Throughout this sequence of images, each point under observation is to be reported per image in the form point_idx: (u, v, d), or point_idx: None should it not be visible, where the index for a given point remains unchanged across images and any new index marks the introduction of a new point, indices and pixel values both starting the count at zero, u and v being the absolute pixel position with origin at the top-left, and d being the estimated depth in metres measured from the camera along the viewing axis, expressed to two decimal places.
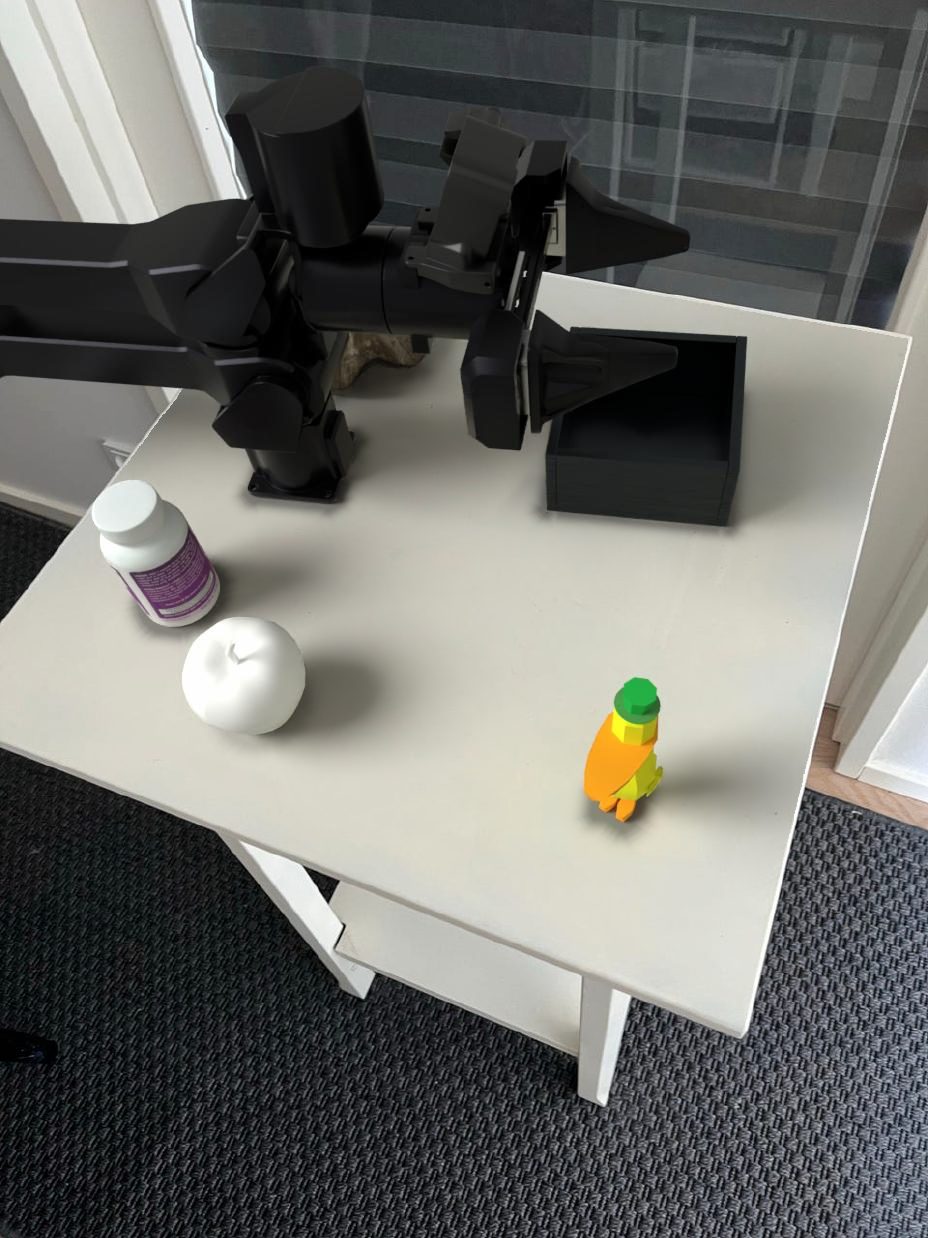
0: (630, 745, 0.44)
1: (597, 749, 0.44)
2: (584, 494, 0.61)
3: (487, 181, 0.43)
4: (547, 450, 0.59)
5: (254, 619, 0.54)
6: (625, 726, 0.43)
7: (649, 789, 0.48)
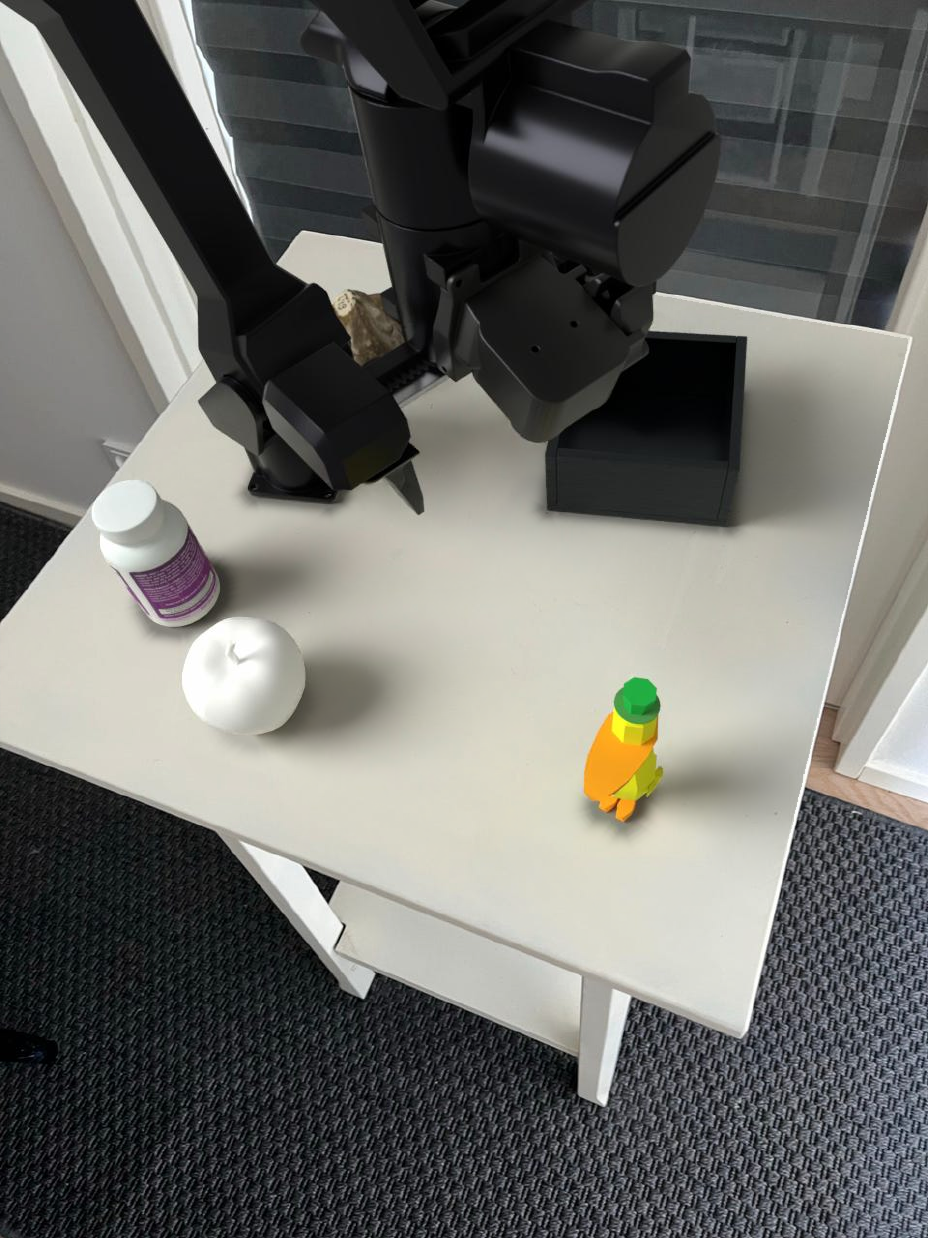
0: (630, 745, 0.44)
1: (597, 749, 0.44)
2: (584, 494, 0.61)
3: (538, 427, 0.37)
4: (547, 450, 0.59)
5: (254, 619, 0.54)
6: (625, 726, 0.43)
7: (649, 789, 0.48)
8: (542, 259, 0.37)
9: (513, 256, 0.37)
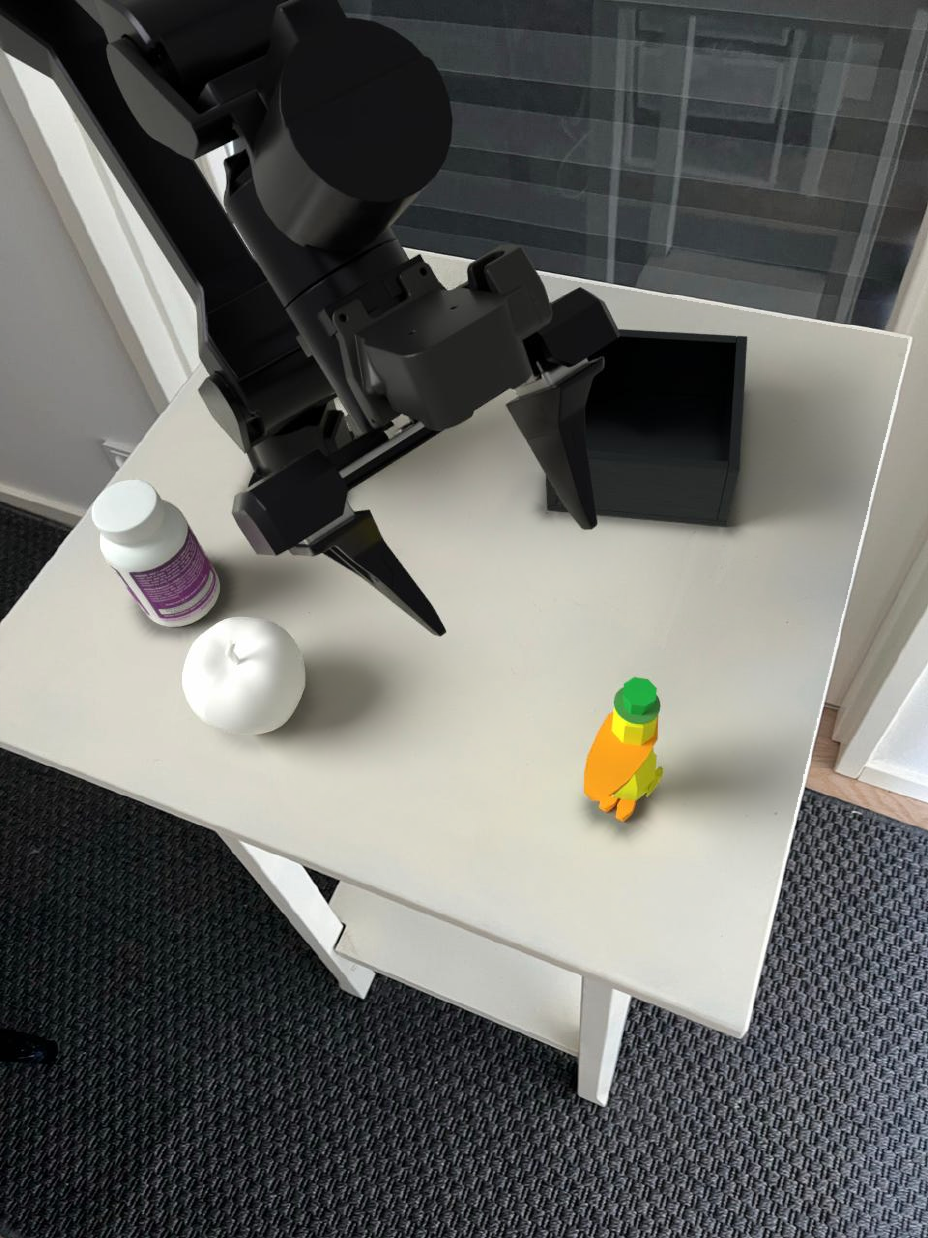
0: (630, 745, 0.44)
1: (597, 749, 0.44)
2: None
3: (433, 399, 0.34)
4: None
5: (254, 619, 0.54)
6: (625, 726, 0.43)
7: (649, 789, 0.48)
8: (433, 290, 0.38)
9: None
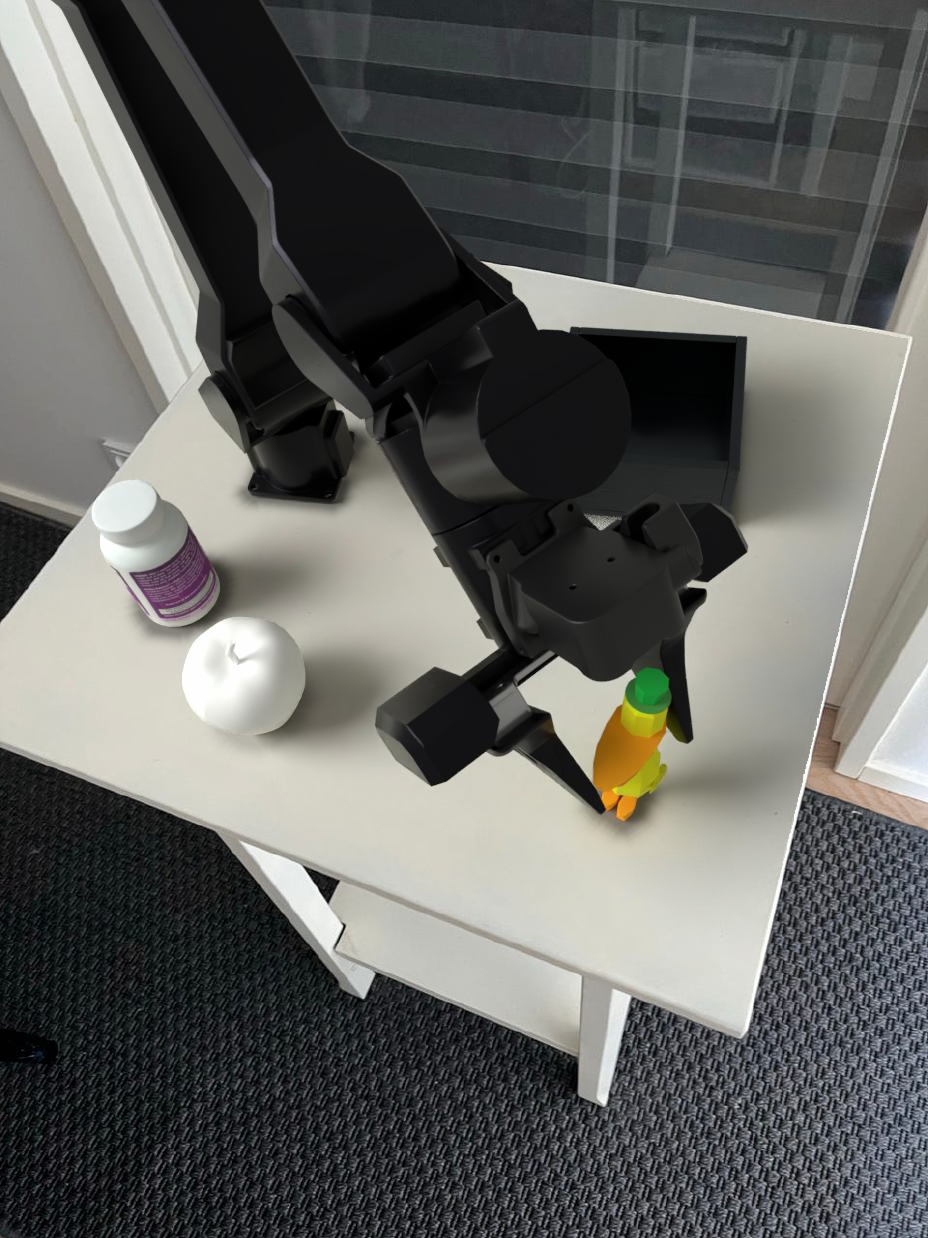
0: (639, 737, 0.44)
1: (606, 740, 0.44)
2: None
3: (597, 658, 0.35)
4: None
5: (254, 619, 0.54)
6: (636, 716, 0.43)
7: (652, 786, 0.48)
8: (580, 526, 0.39)
9: (554, 533, 0.40)
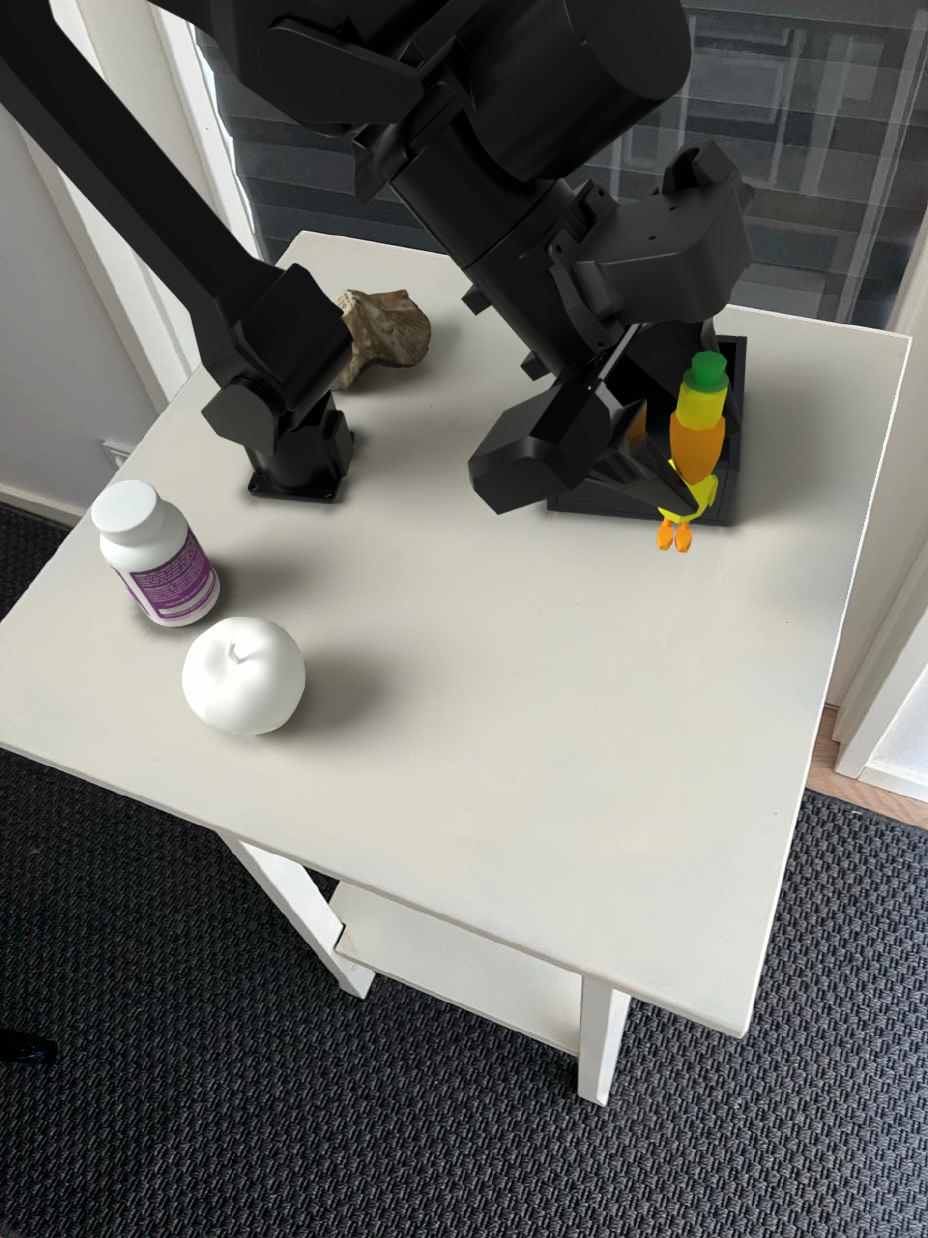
0: (704, 430, 0.45)
1: (677, 442, 0.45)
2: (584, 494, 0.61)
3: (703, 289, 0.36)
4: None
5: (254, 619, 0.54)
6: (703, 401, 0.44)
7: (711, 497, 0.49)
8: (616, 207, 0.39)
9: (593, 223, 0.40)
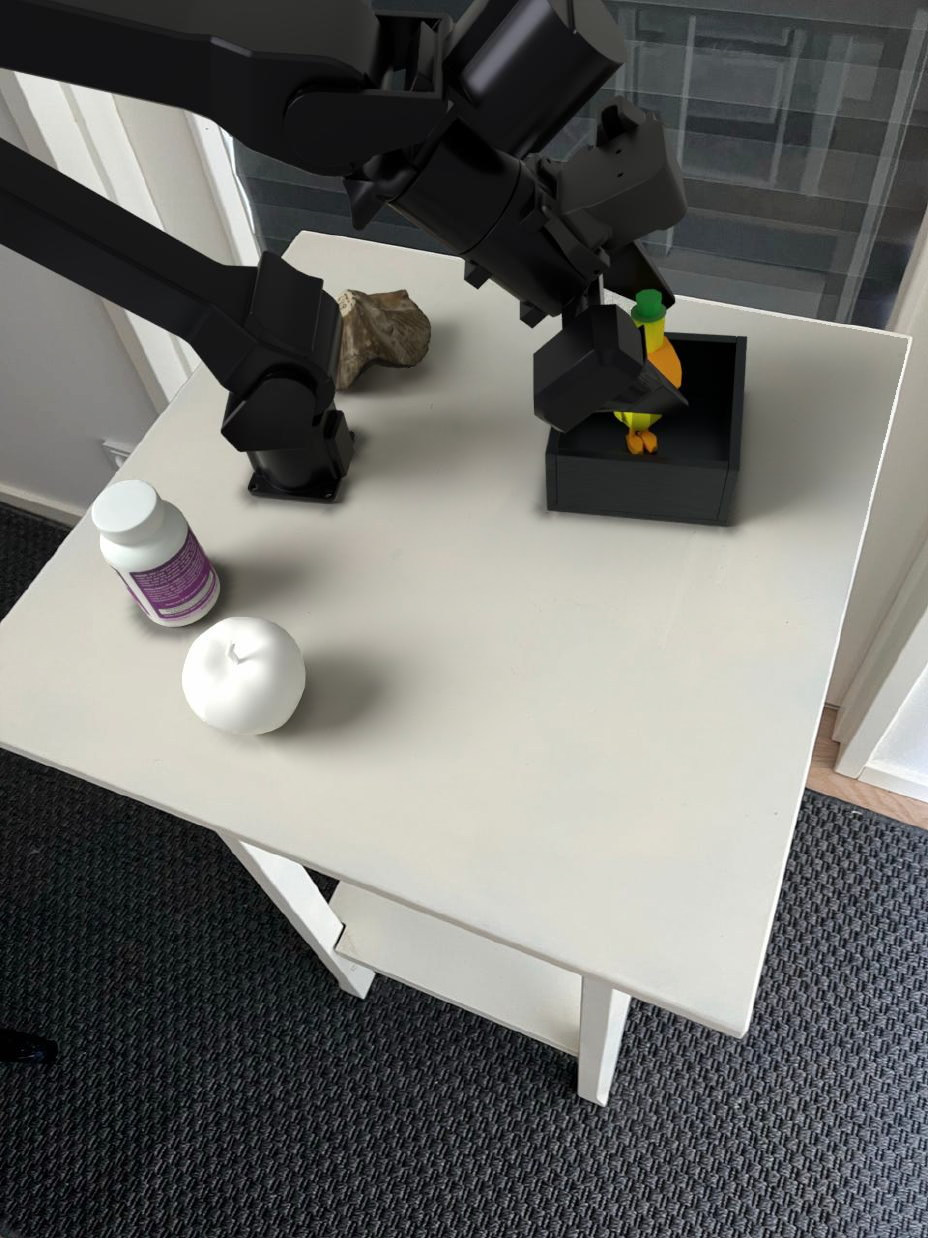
0: (657, 350, 0.57)
1: None
2: (584, 494, 0.61)
3: (674, 198, 0.46)
4: (547, 450, 0.59)
5: (254, 619, 0.54)
6: (655, 328, 0.56)
7: None
8: (564, 168, 0.49)
9: (551, 185, 0.49)
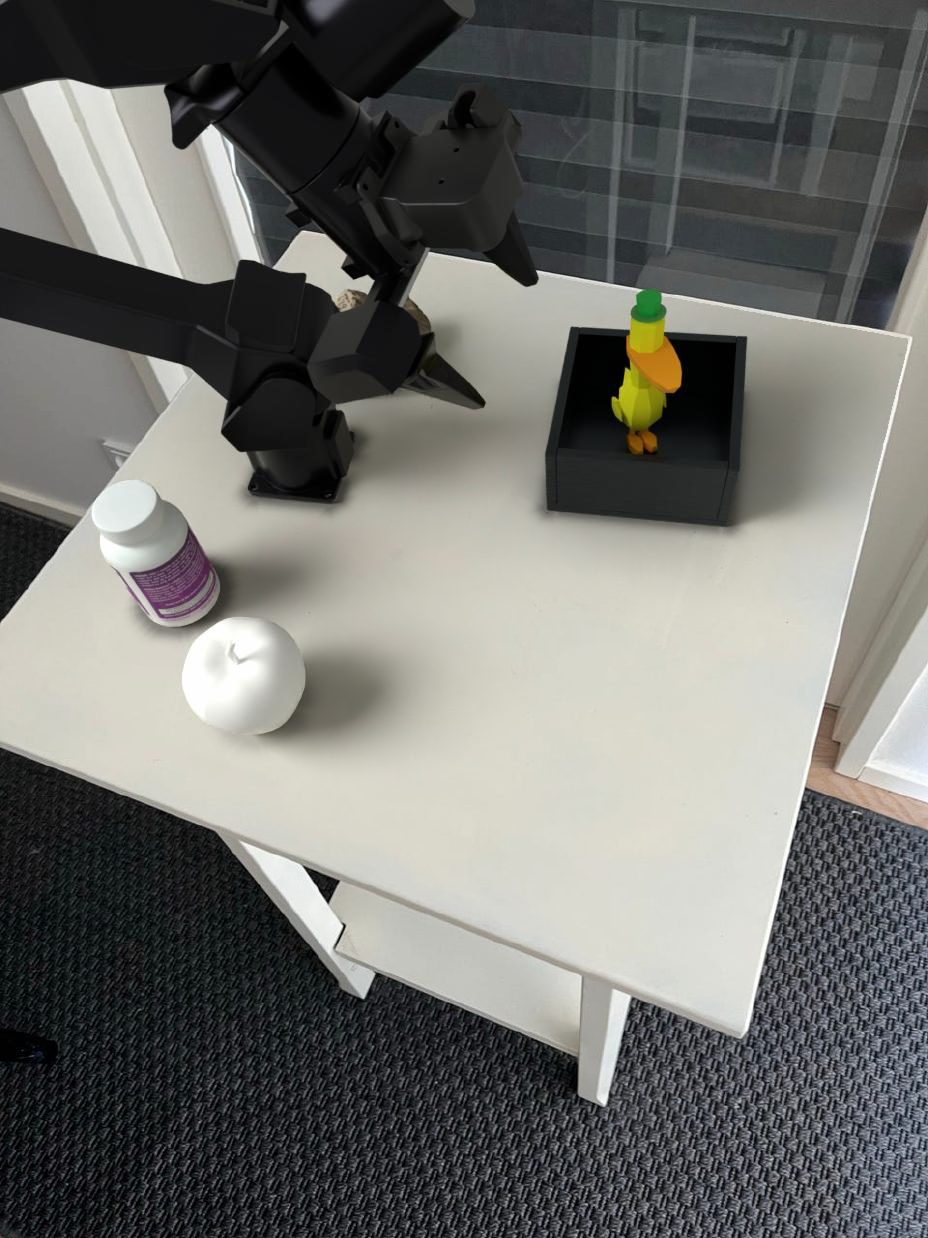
0: (657, 350, 0.57)
1: (645, 366, 0.57)
2: (584, 494, 0.61)
3: (484, 229, 0.45)
4: (547, 450, 0.59)
5: (254, 619, 0.54)
6: (655, 328, 0.56)
7: (664, 400, 0.62)
8: (411, 138, 0.46)
9: (392, 152, 0.47)
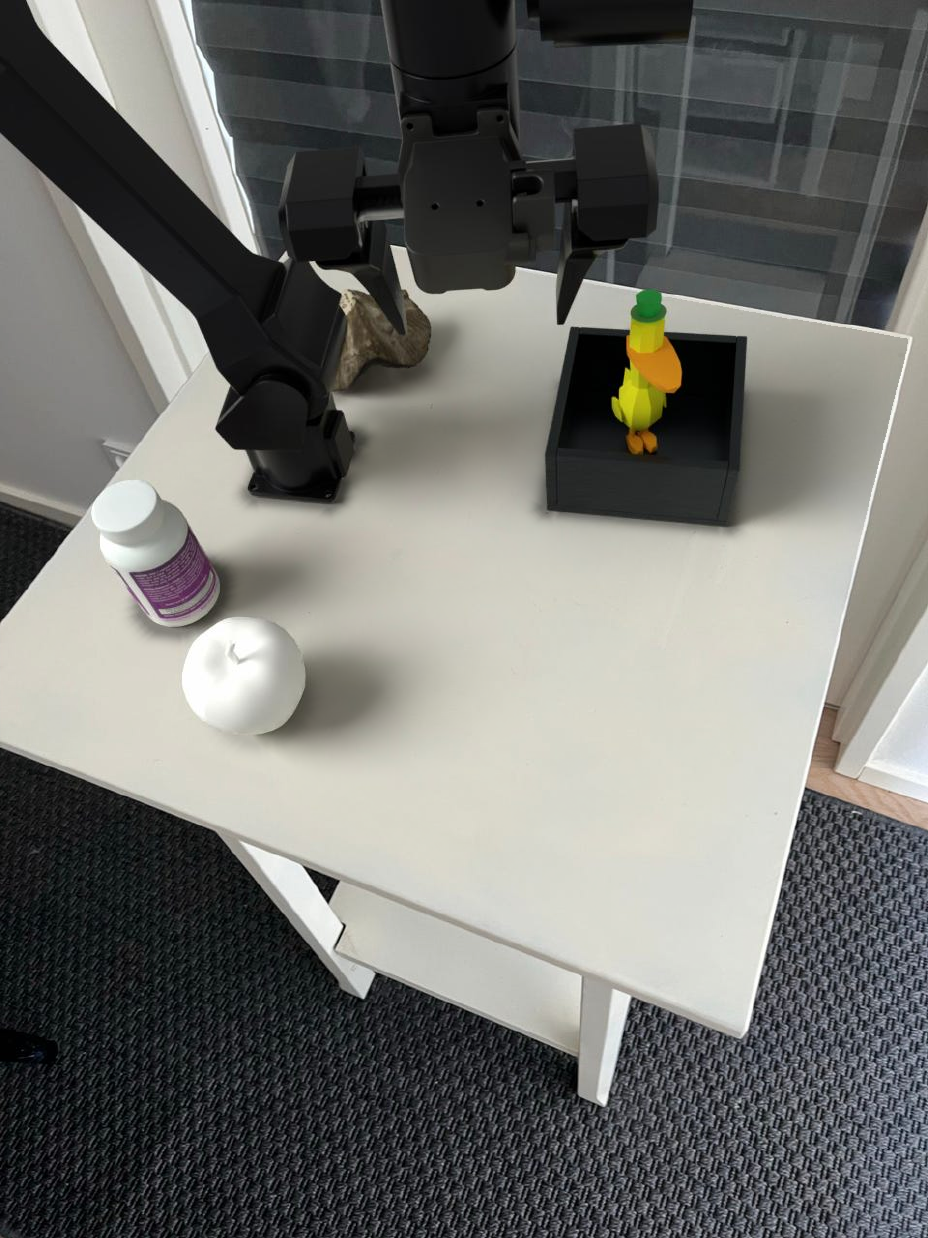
0: (657, 350, 0.57)
1: (645, 366, 0.57)
2: (584, 494, 0.61)
3: (416, 274, 0.42)
4: (547, 450, 0.59)
5: (254, 619, 0.54)
6: (655, 328, 0.56)
7: (664, 400, 0.62)
8: (498, 141, 0.41)
9: None
